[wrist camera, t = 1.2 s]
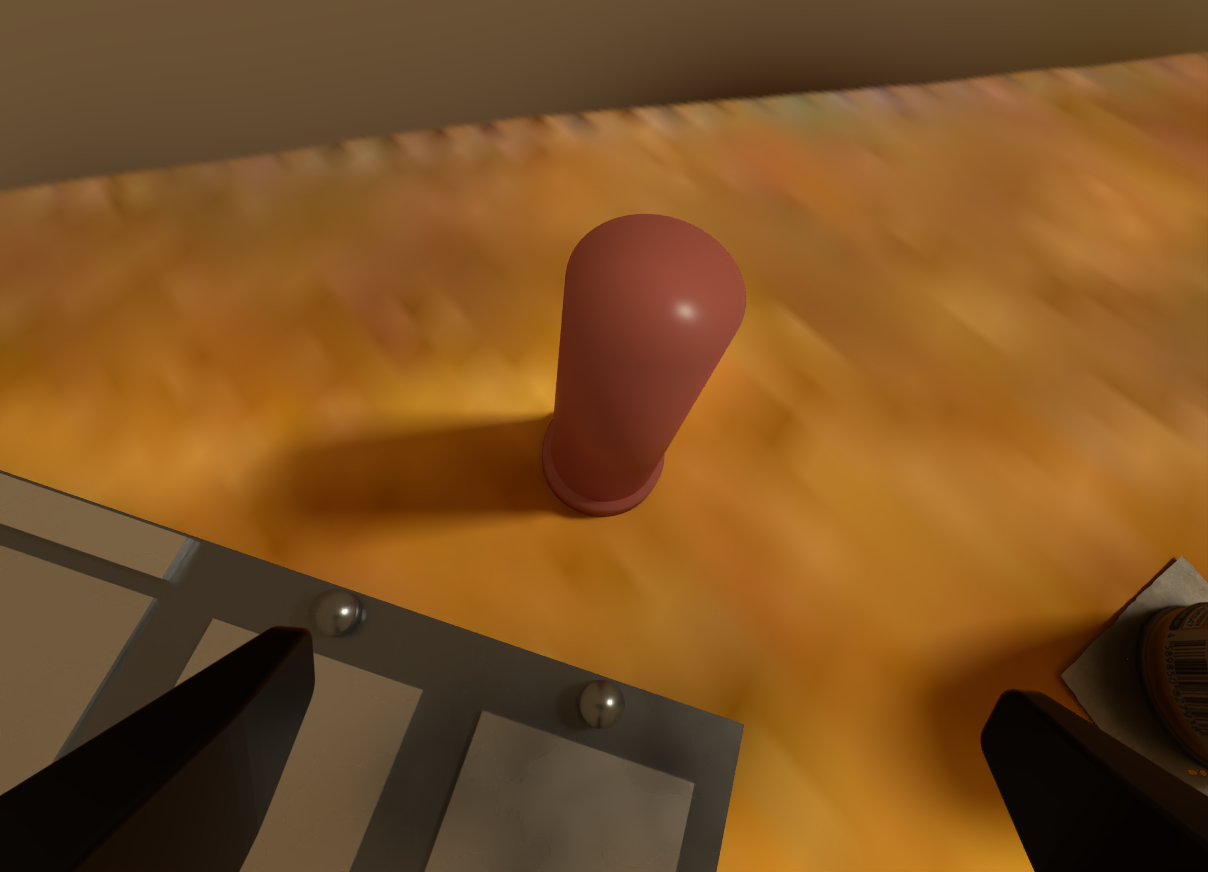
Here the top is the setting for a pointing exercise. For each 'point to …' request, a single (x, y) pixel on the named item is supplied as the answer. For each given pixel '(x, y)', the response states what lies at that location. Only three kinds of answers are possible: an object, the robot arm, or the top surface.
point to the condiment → (1154, 675)
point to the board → (353, 708)
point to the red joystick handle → (634, 354)
